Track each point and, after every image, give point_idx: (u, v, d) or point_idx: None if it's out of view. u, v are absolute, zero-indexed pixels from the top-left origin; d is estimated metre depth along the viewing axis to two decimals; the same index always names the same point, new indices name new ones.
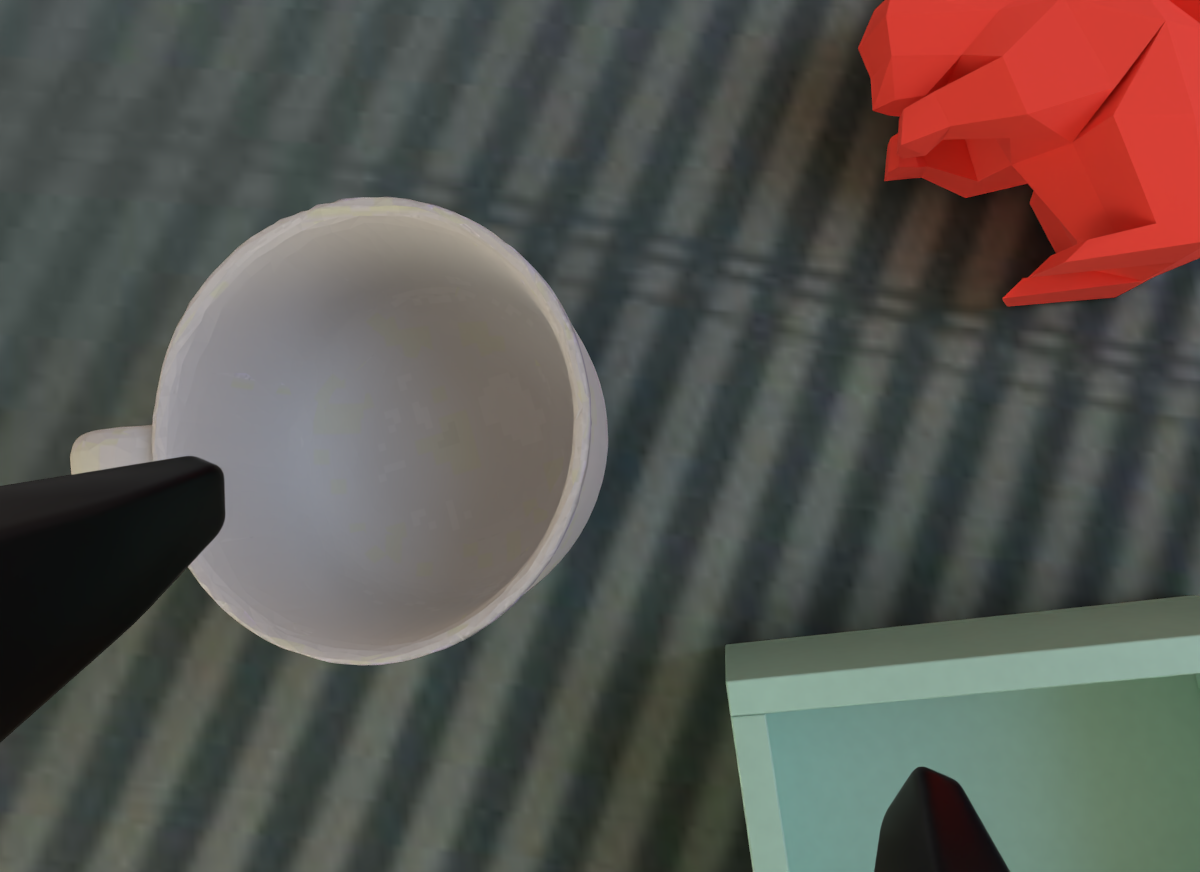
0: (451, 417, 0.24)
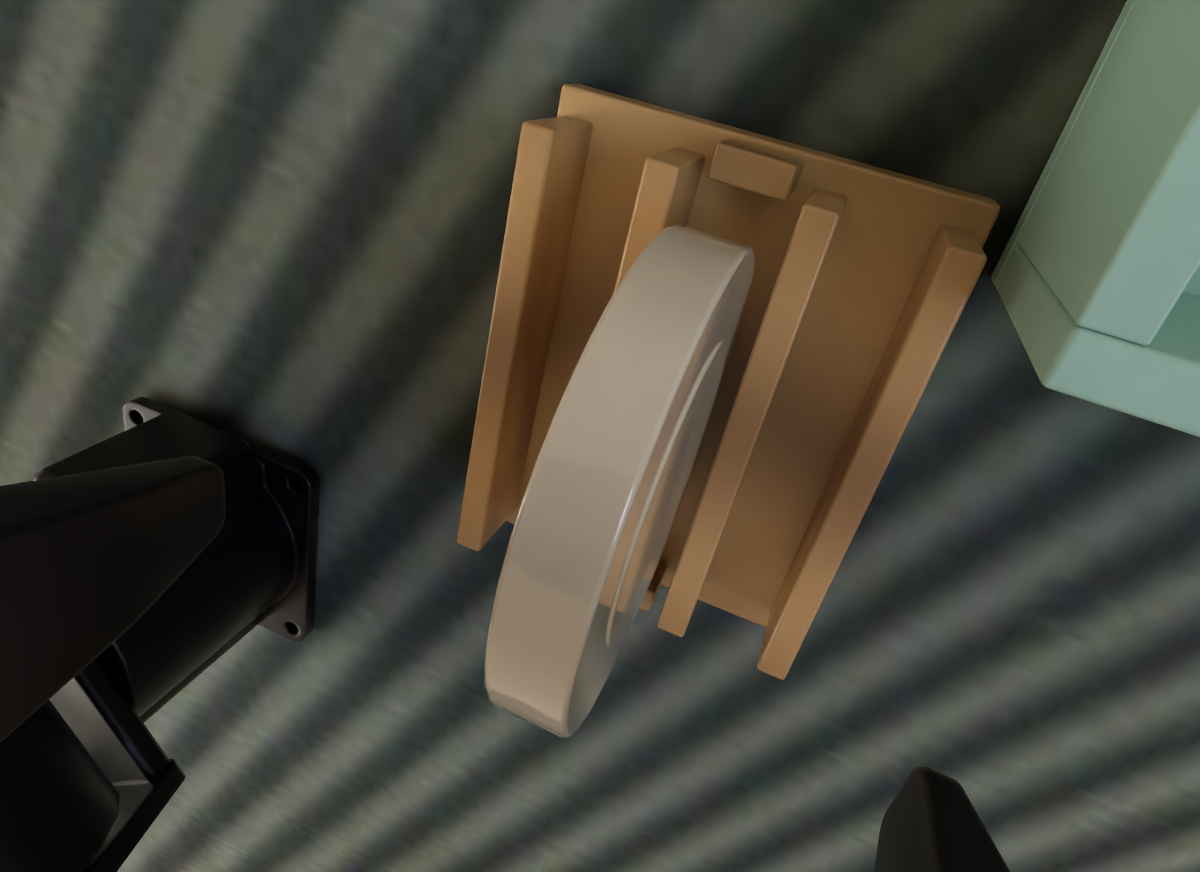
0: None
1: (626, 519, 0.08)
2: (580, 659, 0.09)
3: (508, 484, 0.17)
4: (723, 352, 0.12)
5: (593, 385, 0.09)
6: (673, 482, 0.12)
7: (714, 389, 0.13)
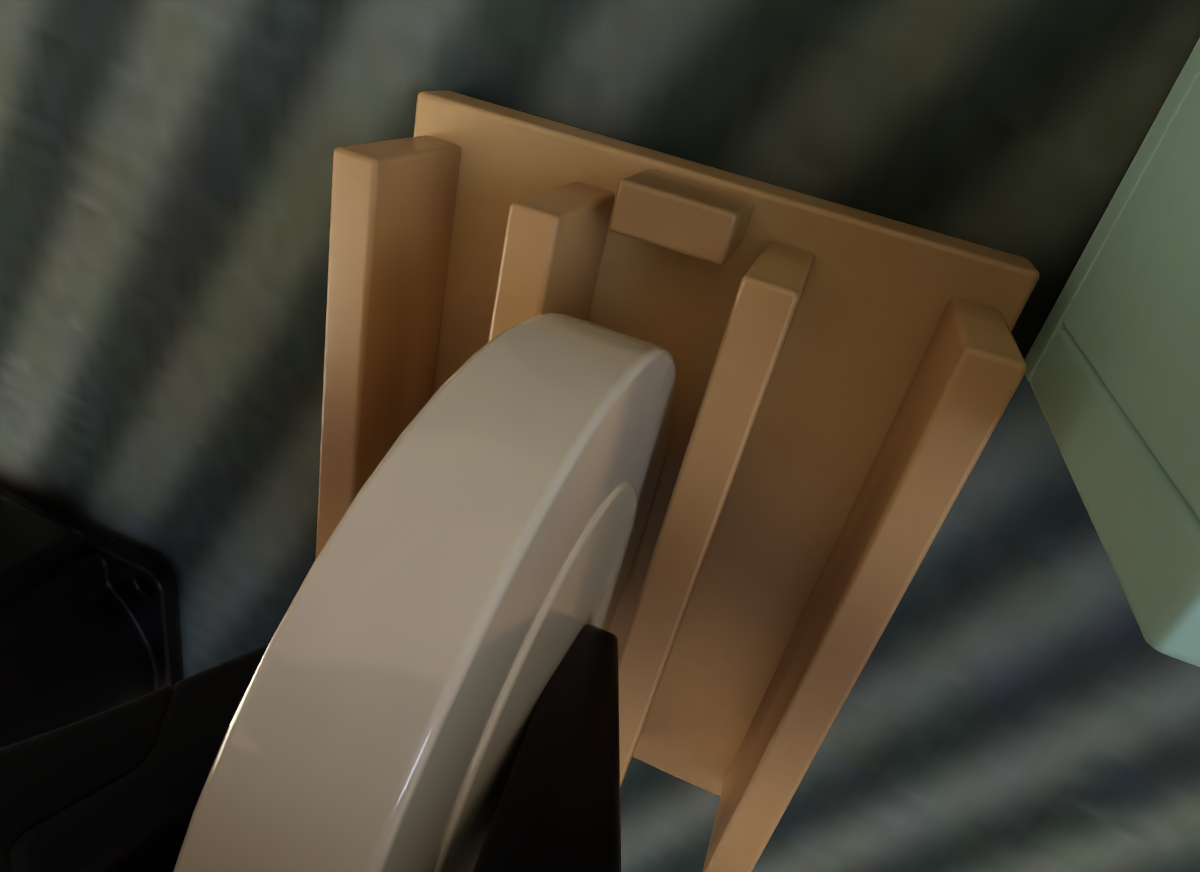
0: None
1: None
2: None
3: None
4: (624, 497, 0.08)
5: (301, 672, 0.04)
6: None
7: (621, 536, 0.09)
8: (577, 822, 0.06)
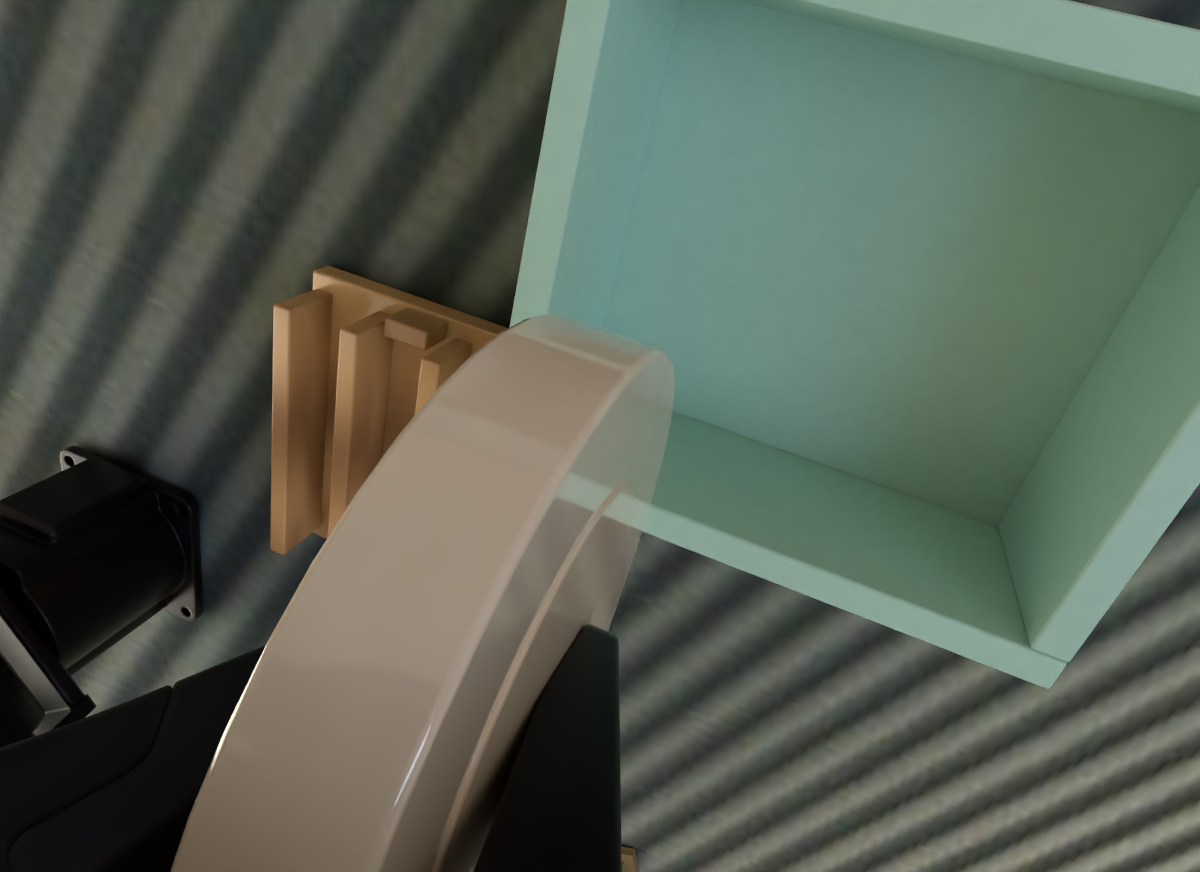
0: None
1: None
2: None
3: (305, 511, 0.26)
4: (623, 498, 0.08)
5: (298, 674, 0.04)
6: None
7: (619, 538, 0.09)
8: (577, 822, 0.06)
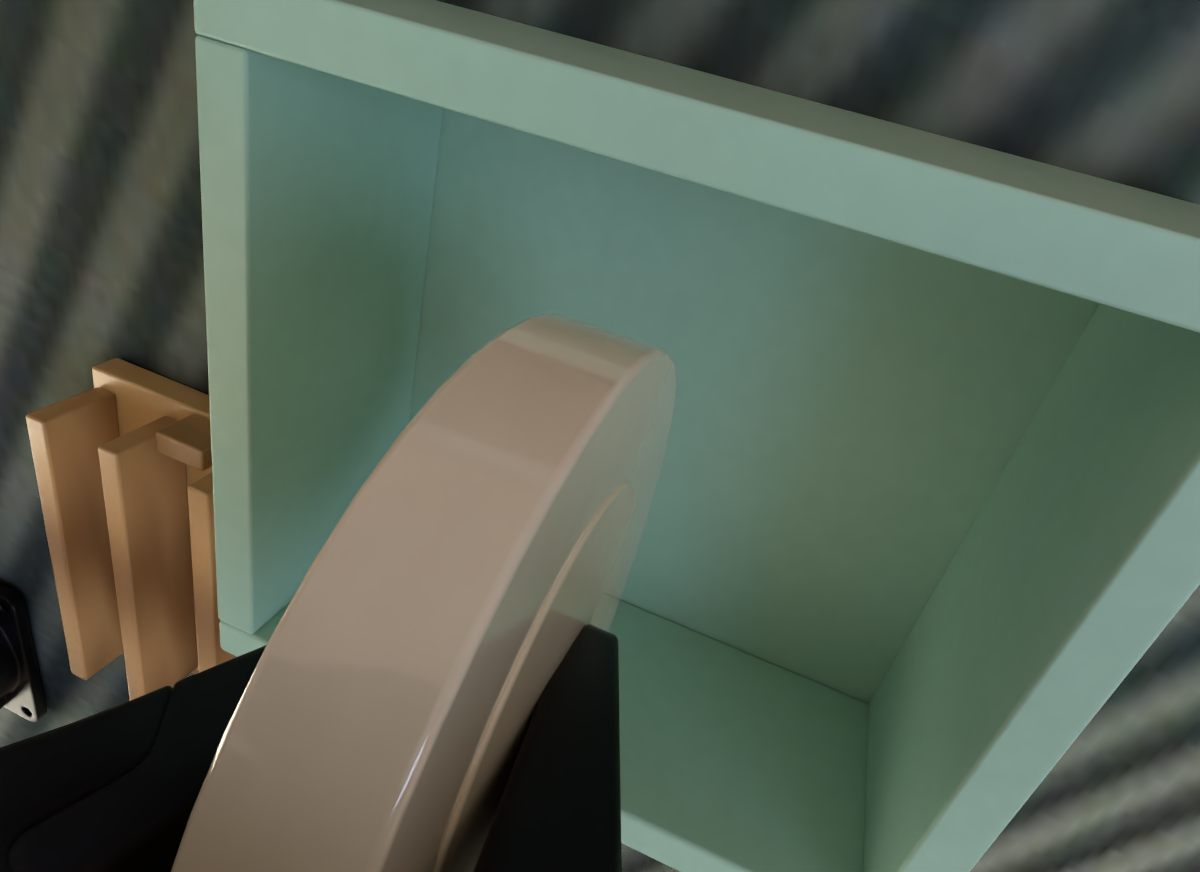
0: None
1: None
2: None
3: (113, 628, 0.23)
4: (624, 498, 0.08)
5: (299, 675, 0.04)
6: None
7: (620, 537, 0.09)
8: (578, 822, 0.06)
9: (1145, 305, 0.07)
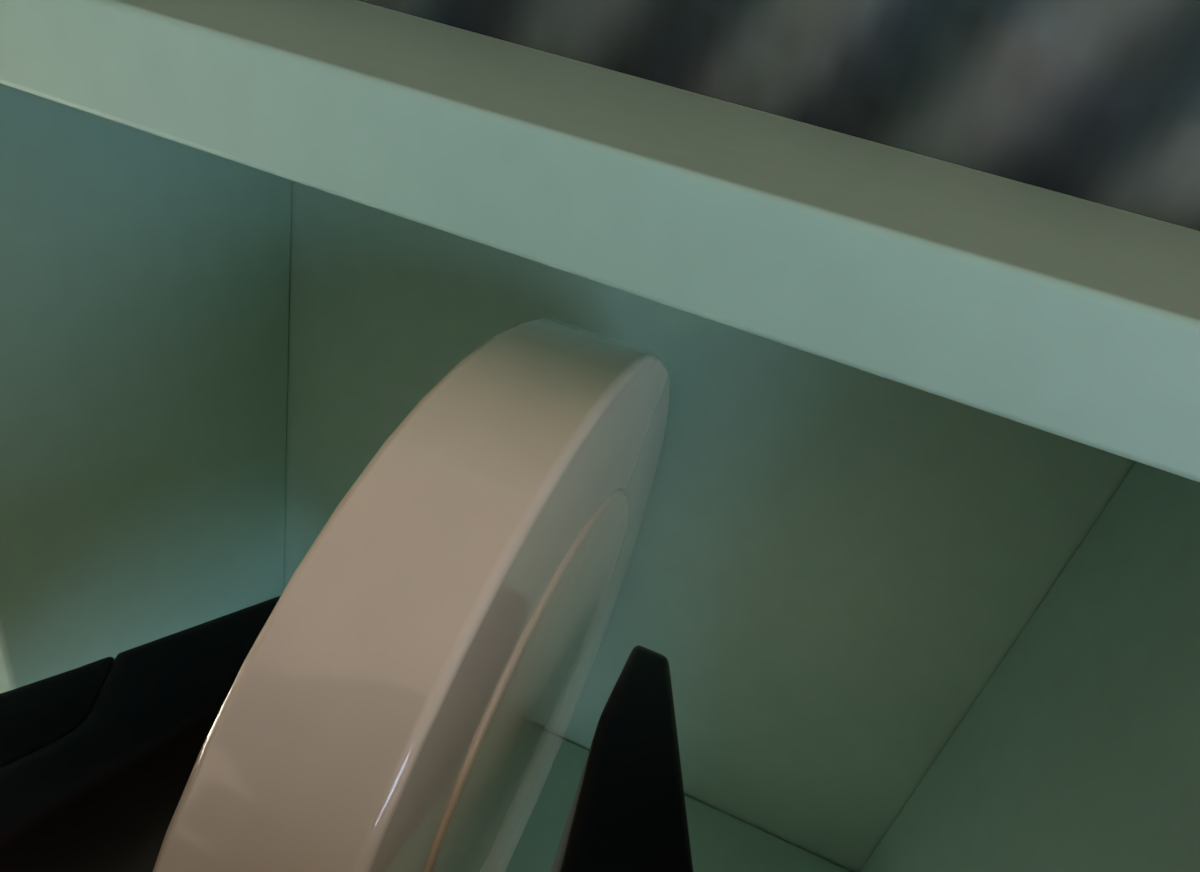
0: None
1: None
2: None
3: None
4: (616, 506, 0.08)
5: (277, 690, 0.04)
6: (535, 712, 0.08)
7: (613, 545, 0.09)
8: (649, 857, 0.06)
9: None
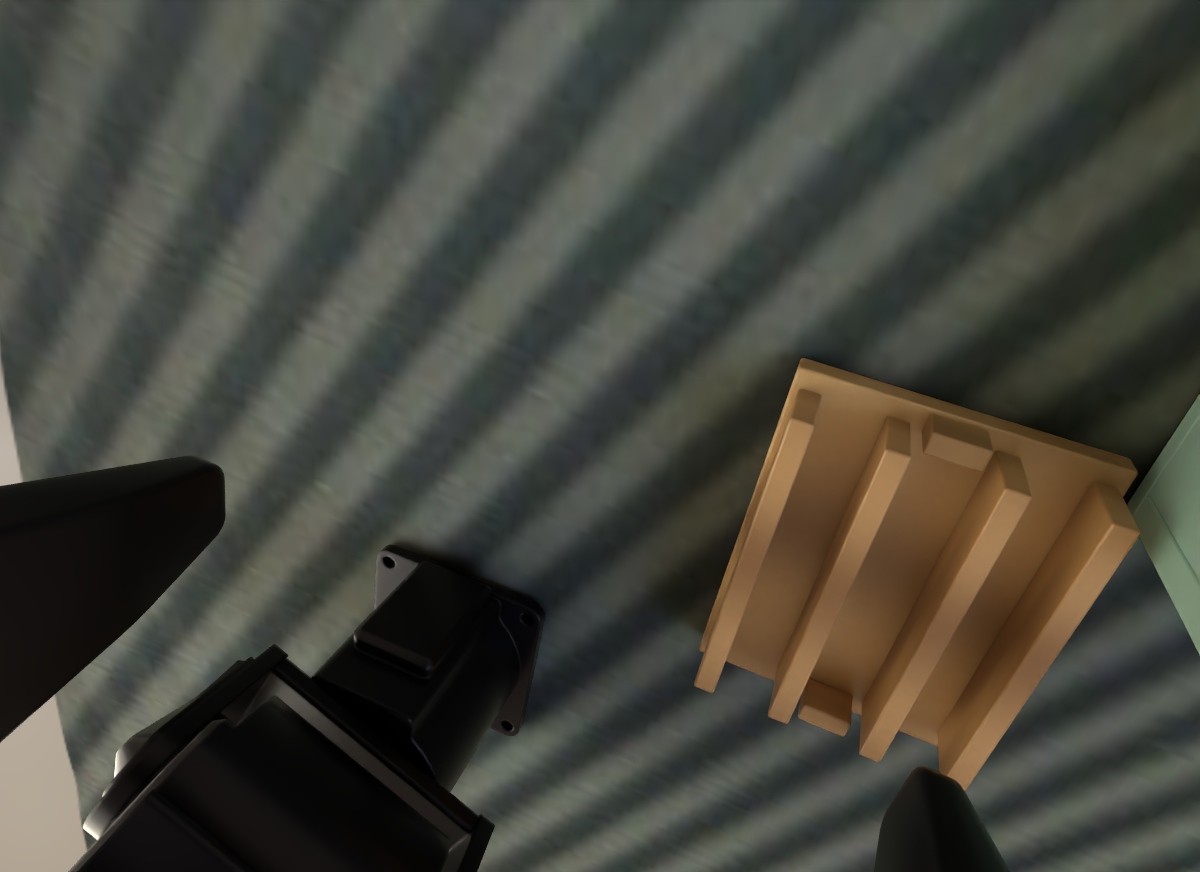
0: None
1: None
2: None
3: None
4: None
5: None
6: None
7: None
8: None
9: None
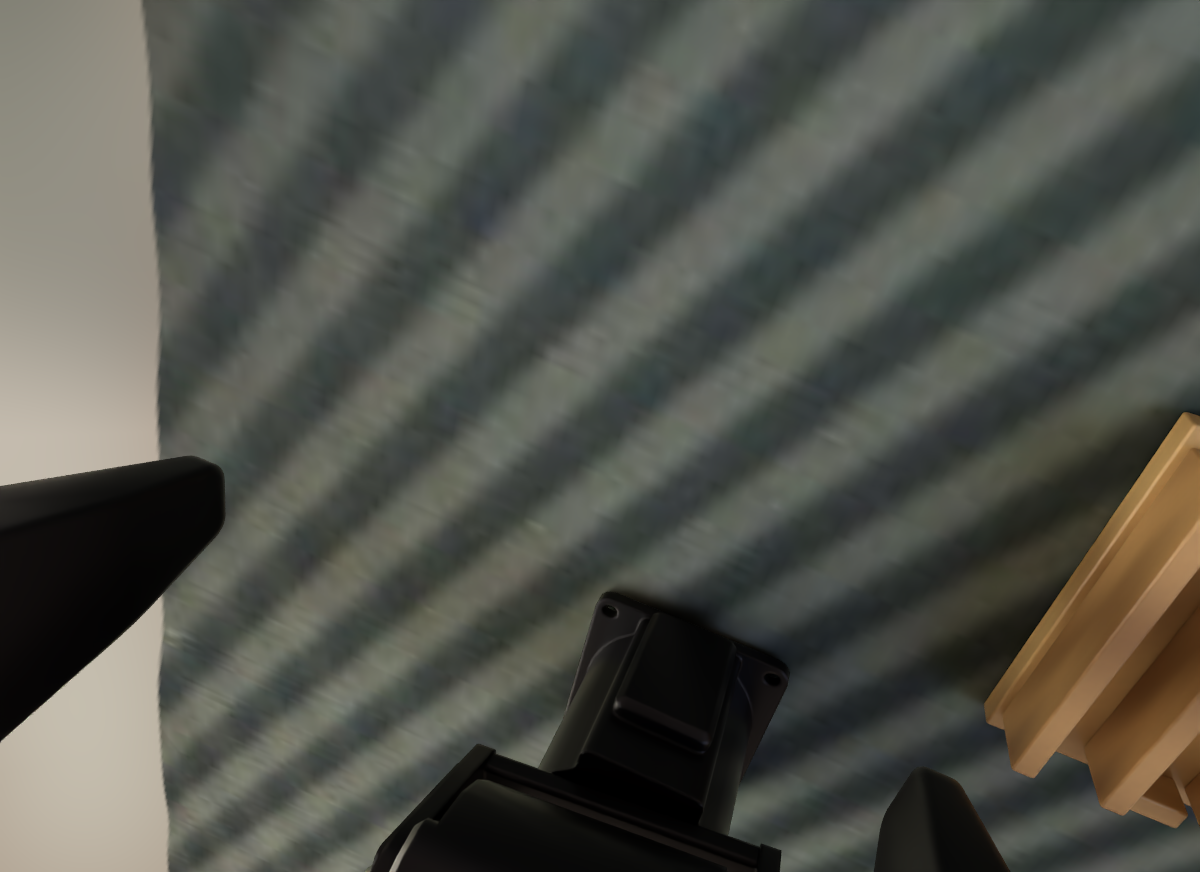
0: None
1: None
2: None
3: None
4: None
5: None
6: None
7: None
8: None
9: None
